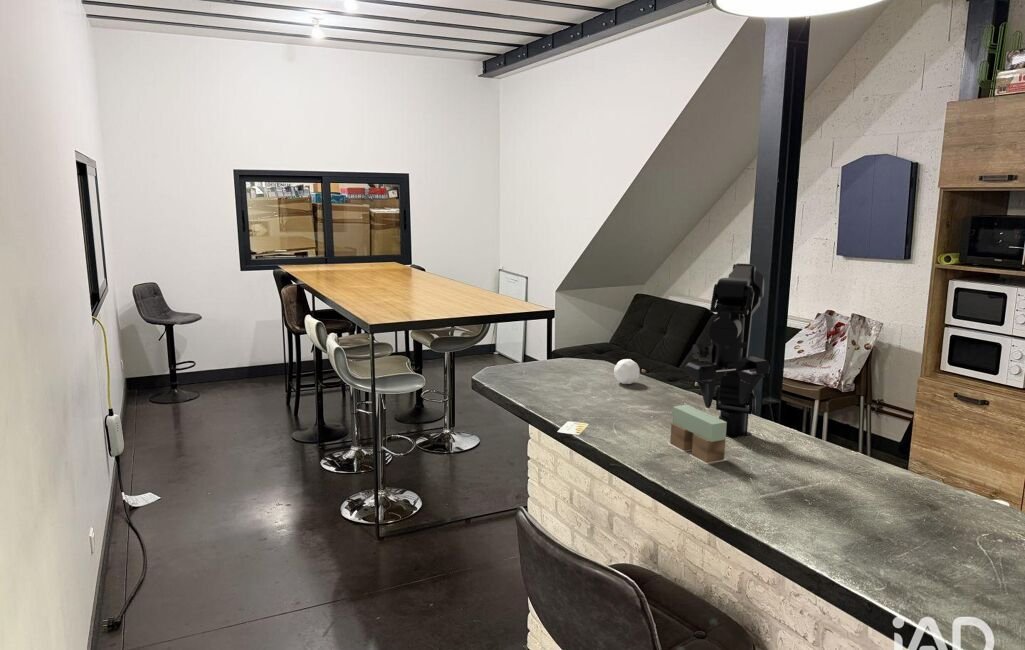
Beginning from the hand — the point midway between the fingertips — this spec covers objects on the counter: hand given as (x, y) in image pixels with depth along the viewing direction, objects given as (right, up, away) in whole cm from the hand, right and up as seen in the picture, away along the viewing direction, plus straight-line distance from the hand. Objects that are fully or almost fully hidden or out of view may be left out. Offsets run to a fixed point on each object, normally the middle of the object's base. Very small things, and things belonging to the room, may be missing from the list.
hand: (725, 405), depth 154 cm
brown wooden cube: (-6, -11, +9) cm, 16 cm away
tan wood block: (-3, -12, +2) cm, 13 cm away
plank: (-5, -6, +5) cm, 9 cm away
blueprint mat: (-5, -12, +6) cm, 14 cm away
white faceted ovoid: (-12, 0, +66) cm, 67 cm away
